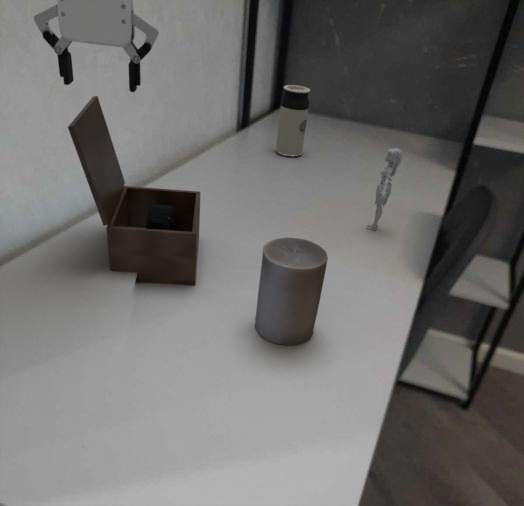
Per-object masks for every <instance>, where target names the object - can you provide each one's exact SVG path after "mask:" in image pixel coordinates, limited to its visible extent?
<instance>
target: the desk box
mask: <svg viewBox="0 0 524 506" xmlns="http://www.w3.org/2000/svg"><path fill="white" fill-rule="evenodd" d="M152 203H155V204H163V205H170V206H173V207H174V212H175V231H172V230H157V229H146V220H147V214H148V209H149V207H150V205H151V204H152ZM200 217H201V191H196V190H185V189H184V190H183V189H170V188H159V187H144V186H134V185H133V186H132V185H124V187H123V189H122V192H121V194H120V197H119V199H118V202H117V204H116V207H115V209H114V212H113V214H112V217H111V219H110V222H109V224H108V225H106V227H105V230H106V241H107V255H108V264H109V272H122V273H136V277H135V282H134V283H149V284H150V283H153V284H169V285H187V286H196V284H197V283H196V282H197V270H198V269H197V268H198V257H199V245H200V244H199V243H200V225H201V223H200V222H201V221H200V219H201V218H200Z"/></svg>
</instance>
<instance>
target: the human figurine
mask: <svg viewBox="0 0 524 506" xmlns="http://www.w3.org/2000/svg"><path fill="white" fill-rule="evenodd" d="M386 153H387V154H386V155H385V158H384V160H385V162H386V163H387V165H386V166H385V167H383V168H381V170H380V176H381V179H380V183H379V184H377V185H376V189H375V202H374V206H376V208H375V215H374V220H373V223H372V224H367V225H366V226H367V227H366V229H367V230H371V231H377V230H378V227H379V225H378V222H379V220H380V219H381V217H382V214H383V208H384V207H385V206H386V205H387V202H388V200H389V197H390V195H391V194H392V187H393V184H392V181H393V180H392V177H394V176H395V175H396V174H397V170H398V167H399V166H400V165H401V164H402V160H403V150H402V149H400V148H398V147H397V148H396V147H395V148H388V149H387V151H386Z"/></svg>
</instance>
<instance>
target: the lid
mask: <svg viewBox="0 0 524 506" xmlns="http://www.w3.org/2000/svg"><path fill="white" fill-rule="evenodd" d="M67 129H68V131H69V135H70V138H71V140H72V143H73V145H74V148H75V151H76V154H77V156H78V157H77V158H78V160H79V163H80V165H81V167H82V170H83V174H84V176H85V179H86V182H87V185H88V187H89V190H90V193H91V195H92V198H93V201H94V203H95V207H96V209H97V212H98V215H99V218H100V220H101V223H102V226H103V227H104V226H107V225H108V224H109V222H110V219H111V217H112V214H113V212H114V209H115V207H116V204H117V202H118V199H119V197H120V194H121V192H122V189H123V187H124V186H125V184H126V182H125V178H124V175H123V172H122V169H121V165H120V163H119V159H118V156H117V153H116V150H115V147H114V144H113V140H112V137H111V134H110V132H109V131H110V130H109V128H108V124H107V122H106V118H105V115H104V113H103V109H102V105H101V103H100V100H99V97H98V95H94V96H92V97H91V99H89V101H88V102H87V103H86V104H85V105H84V106H83V108H82V109H81V111H80V112H79V113H78V114H77V115H76V116H75V118H74V119H73V120H72V121H71V123H69V125H67Z"/></svg>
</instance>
